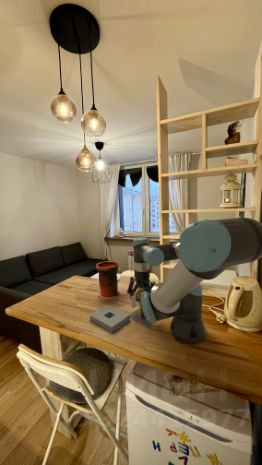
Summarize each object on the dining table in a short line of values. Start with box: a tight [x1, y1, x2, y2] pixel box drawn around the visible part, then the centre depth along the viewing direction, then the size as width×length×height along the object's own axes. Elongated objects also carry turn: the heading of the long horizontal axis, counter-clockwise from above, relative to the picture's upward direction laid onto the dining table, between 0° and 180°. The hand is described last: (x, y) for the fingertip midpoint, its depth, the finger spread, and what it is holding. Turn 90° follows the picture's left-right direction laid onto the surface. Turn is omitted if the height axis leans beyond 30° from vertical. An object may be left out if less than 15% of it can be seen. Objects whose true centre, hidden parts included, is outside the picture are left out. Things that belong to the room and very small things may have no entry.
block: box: [89, 304, 131, 333], centre depth 97 cm, size 16×12×3 cm
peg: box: [139, 293, 146, 319], centre depth 97 cm, size 3×3×12 cm
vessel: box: [95, 260, 120, 300], centre depth 125 cm, size 14×14×20 cm
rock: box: [135, 287, 148, 301], centre depth 117 cm, size 11×9×10 cm
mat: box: [129, 308, 156, 328], centre depth 98 cm, size 14×10×1 cm
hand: (143, 311), depth 98 cm, fingers open, 12 cm apart
